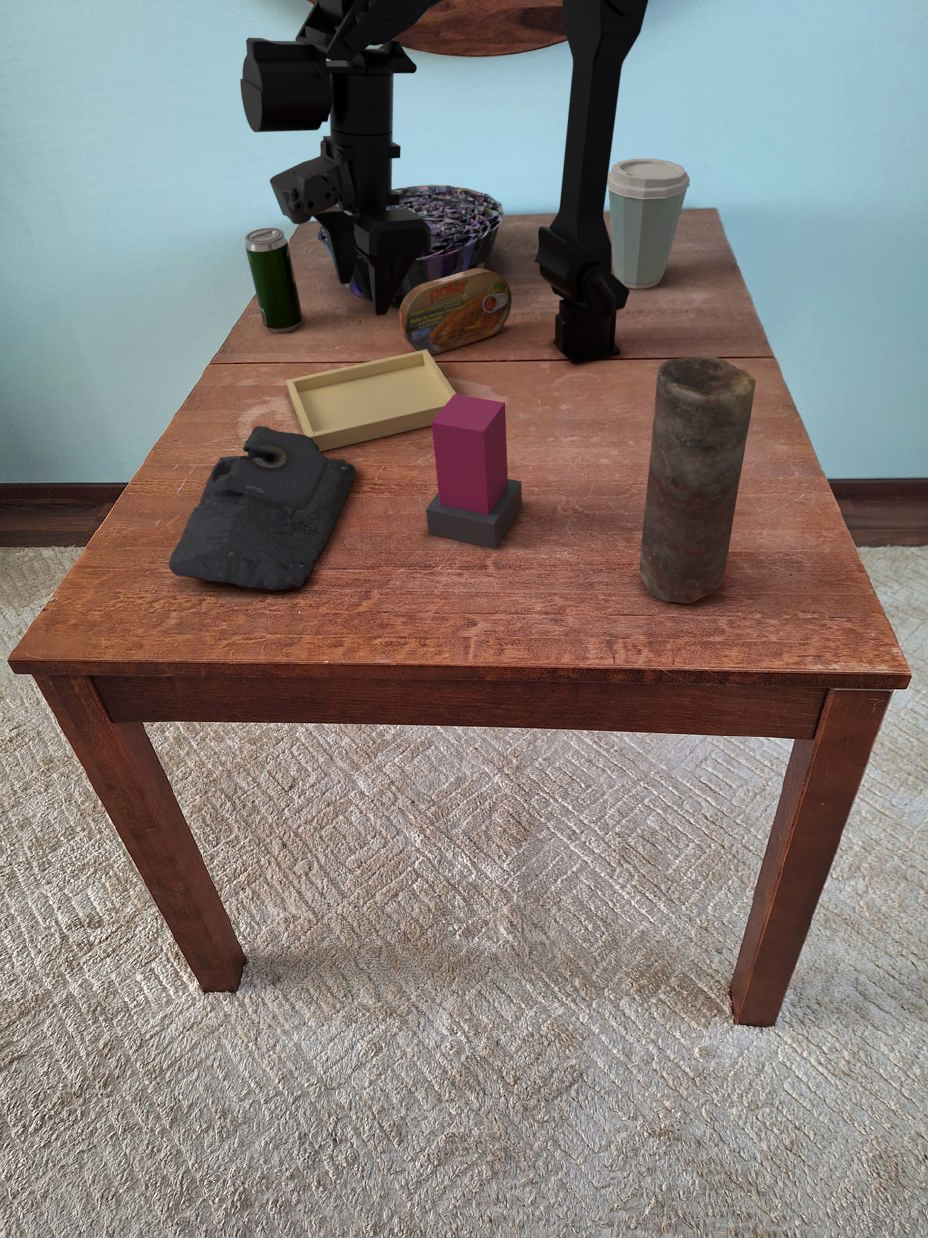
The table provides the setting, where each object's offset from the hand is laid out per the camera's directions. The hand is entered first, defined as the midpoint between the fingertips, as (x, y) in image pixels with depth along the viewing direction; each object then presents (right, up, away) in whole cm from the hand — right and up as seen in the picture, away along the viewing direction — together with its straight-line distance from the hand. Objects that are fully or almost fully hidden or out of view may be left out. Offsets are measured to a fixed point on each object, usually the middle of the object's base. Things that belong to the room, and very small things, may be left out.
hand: (362, 298), depth 89 cm
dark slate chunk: (-10, -23, -3) cm, 25 cm away
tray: (0, -8, +12) cm, 14 cm away
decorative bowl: (+4, +17, +38) cm, 41 cm away
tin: (+10, +3, +22) cm, 24 cm away
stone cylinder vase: (+30, -30, -12) cm, 44 cm away
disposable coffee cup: (+35, +14, +32) cm, 49 cm away
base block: (+12, -23, -5) cm, 27 cm away
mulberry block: (+12, -21, -7) cm, 25 cm away
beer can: (-14, +7, +29) cm, 33 cm away
